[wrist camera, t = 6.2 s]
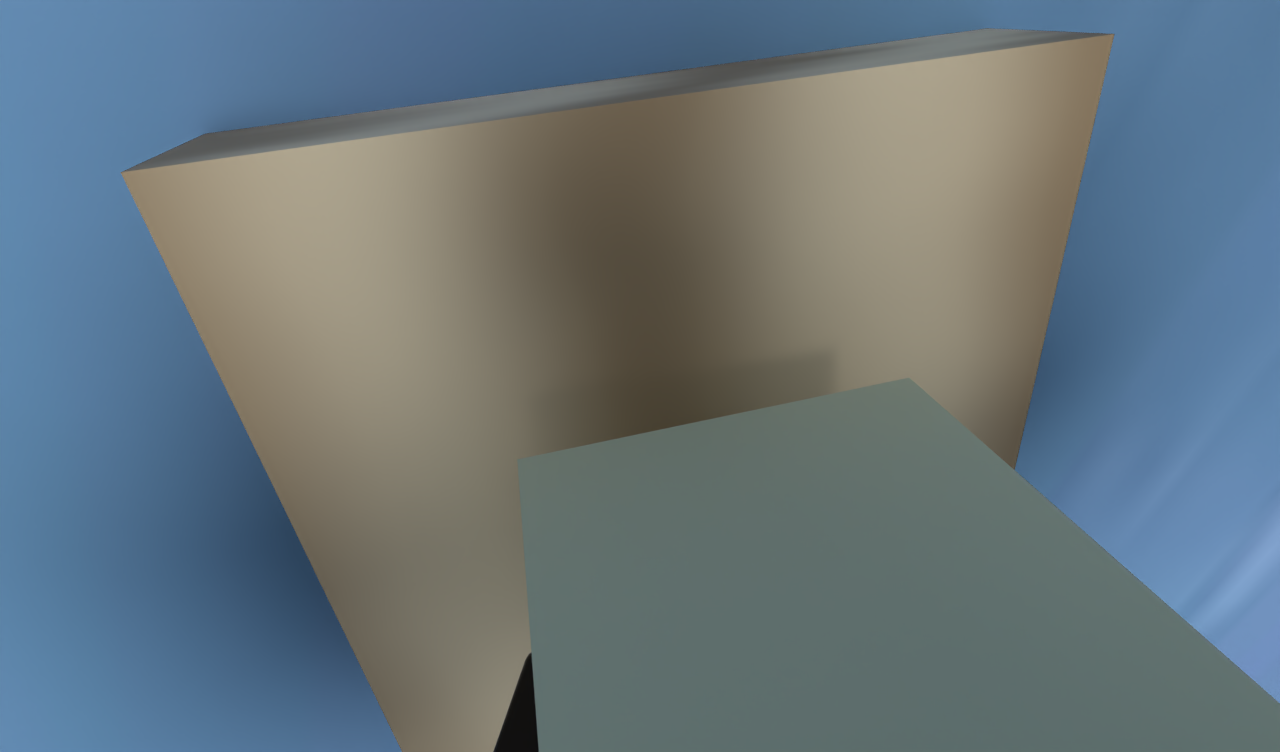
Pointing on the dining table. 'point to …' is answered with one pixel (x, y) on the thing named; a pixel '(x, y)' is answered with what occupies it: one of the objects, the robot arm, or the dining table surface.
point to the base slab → (605, 298)
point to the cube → (848, 598)
